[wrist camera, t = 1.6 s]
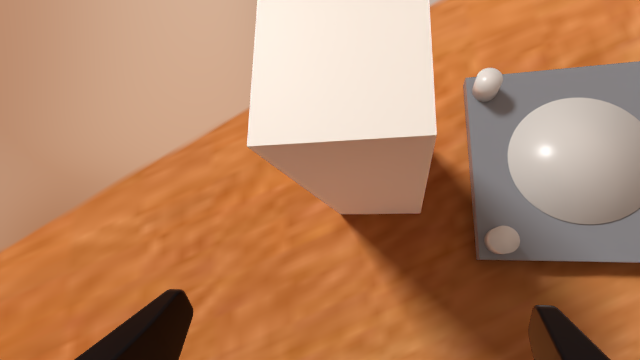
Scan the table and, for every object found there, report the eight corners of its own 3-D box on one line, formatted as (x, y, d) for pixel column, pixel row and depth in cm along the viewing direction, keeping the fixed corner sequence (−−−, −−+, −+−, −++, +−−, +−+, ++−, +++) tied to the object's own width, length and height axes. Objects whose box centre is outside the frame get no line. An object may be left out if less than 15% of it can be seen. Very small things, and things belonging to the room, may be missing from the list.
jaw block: (417, 136, 23) (426, -37, 10) (420, 213, 22) (436, 135, 9) (341, 141, 24) (258, -8, 11) (340, 214, 23) (246, 146, 10)
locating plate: (667, 67, 20) (701, 41, 18) (711, 264, 18) (757, 263, 16) (463, 85, 23) (469, 65, 21) (476, 259, 20) (485, 259, 18)
